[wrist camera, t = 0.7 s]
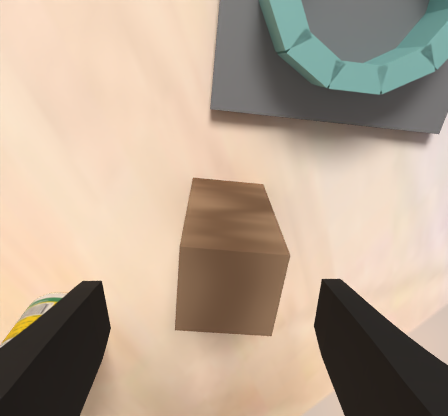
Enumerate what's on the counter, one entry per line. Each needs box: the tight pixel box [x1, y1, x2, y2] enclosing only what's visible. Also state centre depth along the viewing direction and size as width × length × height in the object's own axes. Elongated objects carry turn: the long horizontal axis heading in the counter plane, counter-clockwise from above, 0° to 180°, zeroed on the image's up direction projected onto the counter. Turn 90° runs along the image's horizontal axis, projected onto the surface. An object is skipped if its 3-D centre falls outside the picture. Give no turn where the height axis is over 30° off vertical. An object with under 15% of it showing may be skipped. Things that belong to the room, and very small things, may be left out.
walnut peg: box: [175, 178, 290, 336], centre depth 17 cm, size 4×4×8 cm
